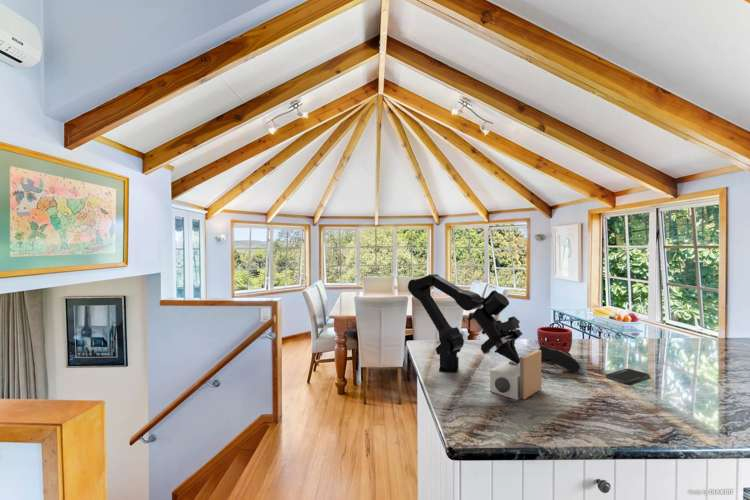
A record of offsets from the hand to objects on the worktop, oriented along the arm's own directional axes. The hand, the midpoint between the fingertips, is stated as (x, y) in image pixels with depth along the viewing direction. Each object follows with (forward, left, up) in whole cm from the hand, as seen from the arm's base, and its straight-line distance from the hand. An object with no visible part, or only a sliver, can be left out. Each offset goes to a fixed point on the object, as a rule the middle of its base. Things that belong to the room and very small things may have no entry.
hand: (519, 362), depth 116 cm
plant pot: (+17, +41, -9) cm, 45 cm away
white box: (-2, +1, -9) cm, 9 cm away
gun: (+16, +24, -9) cm, 30 cm away
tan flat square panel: (+3, -2, -9) cm, 9 cm away
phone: (+38, +24, -10) cm, 46 cm away
